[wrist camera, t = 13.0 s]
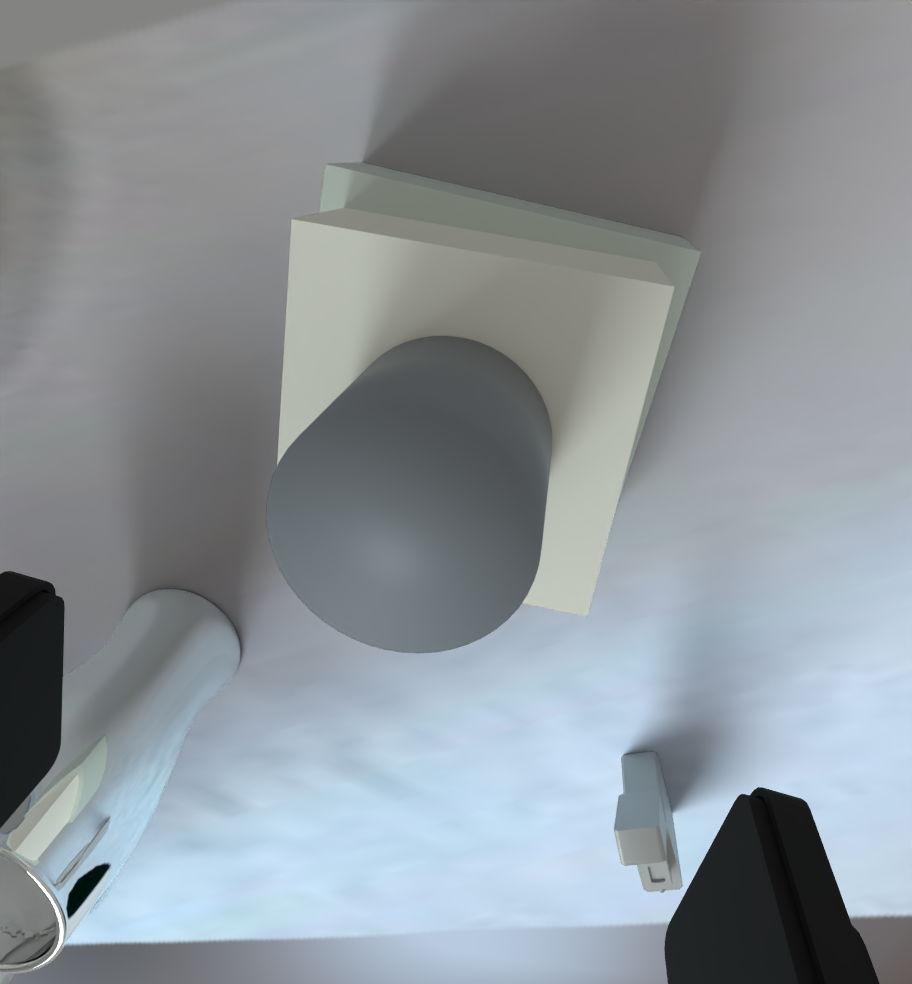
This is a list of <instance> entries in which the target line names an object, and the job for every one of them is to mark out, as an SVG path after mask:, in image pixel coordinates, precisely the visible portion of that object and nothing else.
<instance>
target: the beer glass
mask: <svg viewBox="0 0 912 984" xmlns="http://www.w3.org/2000/svg"><path fill="white" fill-rule="evenodd" d="M240 655H241V648H240V642H239V638H238V635H237V633H236V631H235V629H234V627H233V625H232V623H231V622H230V621H229V619H228V618H227V617H226V616H225V614H224V613H223V612H222V611H221V610H220V609H218V608H217V607H216V606H215V605H214V604H212V603H211V602H209V601H208V600H206V599H204V598H203V597H201V596H198V595H196V594H194V593H191V592H188V591H184V590H178V589H160V590H155V591H152V592H149V593H147V594H145V595H143V596H141V597H140V598H138V599H137V600H136V601H135V602H134V603H133V604H132V605H131V606H130V607H129V609H128V610H127V611H126V613H125V614H124V616H123V617H122V619H121V621H120V623H119V624H118V626H117V628H116V629H115V631H114V633H113V635H112V636H111V638H110V639H109V640H108V642H107V643H106V644H105V645H104V646H103V647H102V649H100V650H99V651H98V652H97V653H96V654H95V655H94V656H92V657H91V658H90V659H88V660H87V661H86V662H84V663H83V664H81V665H80V666H79V667H77V668H76V669H74V670H73V671H71V672H70V673H68V674H67V675H65V676H64V677H63V685H62V725H61V747H60V751H59V754H58V756H57V759H56V761H55V763H54V765H53V766H52V768H51V769H50V771H49V772H48V773H47V774H46V776H45V777H44V778H43V779H42V780H41V781H40V783H39V784H38V785H37V786H36V787H35V789H34V790H33V791H32V792H31V793H30V794H29V796H28V797H27V798H26V799H25V800H24V801H23V803H22V804H21V805H20V806H19V807H18V808H17V810H16V811H15V812H14V813H13V814H12V815H11V817H10V818H9V819H8V820H7V821H6V822H5V824H4V825H3V826H2V827H1V828H0V973H23V972H29V971H33V970H36V969H39V968H41V967H43V966H45V965H47V964H48V963H50V962H51V961H53V960H54V959H55V958H56V957H57V955H58V954H59V953H60V952H61V950H62V948H63V946H64V945H65V943H66V942H67V940H68V939H69V938H70V936H71V935H72V934H73V932H74V931H75V930H76V928H77V927H78V926H79V924H80V923H81V922H82V920H83V919H84V918H85V917H86V915H87V914H88V913H89V911H90V910H91V909H92V907H93V906H94V905H95V903H96V902H97V901H98V899H99V898H100V897H101V895H102V894H103V893H104V891H105V890H106V889H107V887H108V886H109V885H110V883H111V882H112V880H113V879H114V878H115V876H116V875H117V873H118V872H119V870H120V869H121V867H122V866H123V864H124V863H125V861H126V860H127V858H128V857H129V856H130V854H131V852H132V851H133V849H134V847H135V846H136V844H137V842H138V841H139V839H140V837H141V836H142V834H143V832H144V831H145V829H146V827H147V825H148V824H149V822H150V820H151V818H152V816H153V814H154V811H155V809H156V807H157V805H158V803H159V801H160V799H161V797H162V795H163V792H164V790H165V788H166V785H167V783H168V780H169V778H170V775H171V773H172V770H173V768H174V765H175V763H176V760H177V758H178V755H179V753H180V750H181V748H182V745H183V742H184V740H185V738H186V735H187V733H188V731H189V728H190V726H191V724H192V723H193V721H194V719H195V717H196V716H197V714H198V713H199V712H200V710H201V709H202V708H203V706H204V705H205V704H206V703H207V702H208V701H209V700H210V699H211V698H212V697H213V696H214V695H215V694H216V693H217V692H219V691H220V690H221V689H222V688H223V687H224V686H225V685H226V684H227V683H228V682H229V681H230V680H231V678H232V677H233V676H234V674H235V672H236V670H237V668H238V665H239V662H240Z"/></svg>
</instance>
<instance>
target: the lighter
mask: <svg viewBox="0 0 912 984" xmlns="http://www.w3.org/2000/svg"><path fill="white" fill-rule="evenodd" d="M621 763H622V776H623V790H624V794H622V795H619V798H618V805H617V812H616V819H615V826H614V832H615V837H616V842H617V846H618V851H619V856H620V861H621V864H622V865H625V866H628V865H637V867H638V871H639V874H640V878H641V881H642V885H643V888H644V890H646V891H648V892H653V891H660V892H661V893H663V892H664V891H665V890H677V889H680V888H681V887H682V886H683V885H682V878H681V871H680V864H679V857H678V850H677V843H676V836H675V829H674V822H673V815H672V810H671V806H670V802H669V798H668V794H667V790H666V786H665V782H664V778H663V775H662V771H661V767H660V763H659V759H658V755H657V753H656V752H654V751H649V752H641V753H633V754H626V755H623V756H622V758H621Z"/></svg>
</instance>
